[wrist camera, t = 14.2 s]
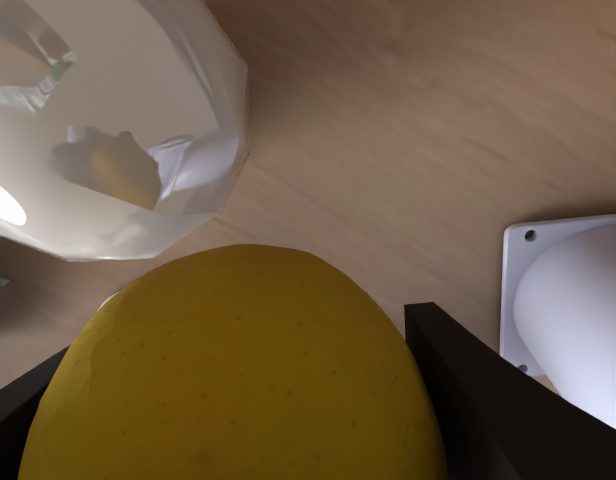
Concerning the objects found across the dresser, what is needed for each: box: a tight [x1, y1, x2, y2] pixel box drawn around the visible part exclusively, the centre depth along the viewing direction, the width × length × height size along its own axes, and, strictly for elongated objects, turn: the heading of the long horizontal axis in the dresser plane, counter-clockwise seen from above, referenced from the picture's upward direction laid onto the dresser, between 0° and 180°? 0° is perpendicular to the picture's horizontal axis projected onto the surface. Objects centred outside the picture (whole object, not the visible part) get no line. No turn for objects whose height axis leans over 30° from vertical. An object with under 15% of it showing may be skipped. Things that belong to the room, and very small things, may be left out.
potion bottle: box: [0, 0, 249, 262], centre depth 13 cm, size 9×10×15 cm
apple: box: [18, 244, 447, 480], centre depth 7 cm, size 6×6×8 cm
